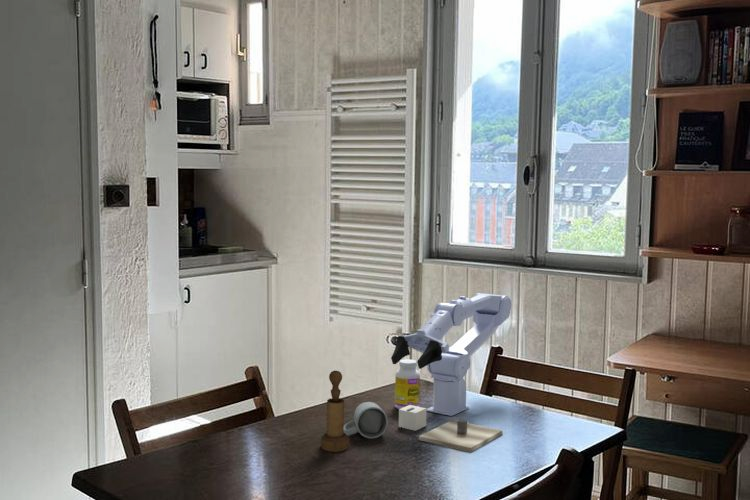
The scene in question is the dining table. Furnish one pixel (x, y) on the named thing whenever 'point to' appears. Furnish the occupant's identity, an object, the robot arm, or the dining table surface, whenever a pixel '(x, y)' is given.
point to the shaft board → (461, 435)
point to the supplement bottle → (407, 384)
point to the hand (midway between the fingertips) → (405, 363)
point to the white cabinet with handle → (412, 417)
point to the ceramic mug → (367, 421)
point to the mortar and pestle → (335, 419)
